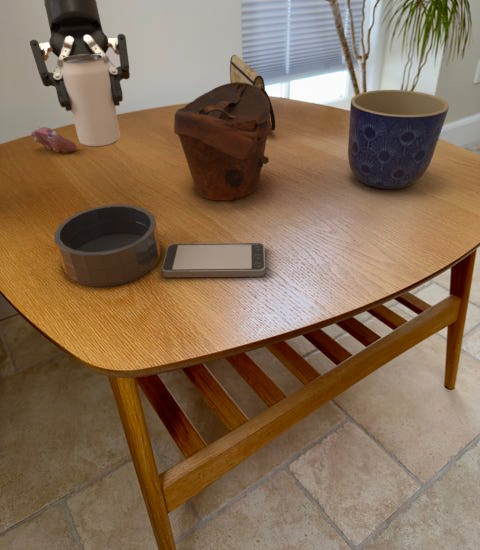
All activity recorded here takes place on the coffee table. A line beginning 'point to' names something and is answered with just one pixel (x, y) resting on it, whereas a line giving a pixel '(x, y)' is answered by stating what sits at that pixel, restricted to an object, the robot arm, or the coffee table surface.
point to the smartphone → (214, 260)
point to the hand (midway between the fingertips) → (92, 105)
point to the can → (91, 99)
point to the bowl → (108, 245)
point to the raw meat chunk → (52, 140)
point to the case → (225, 139)
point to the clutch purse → (248, 79)
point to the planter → (393, 136)
